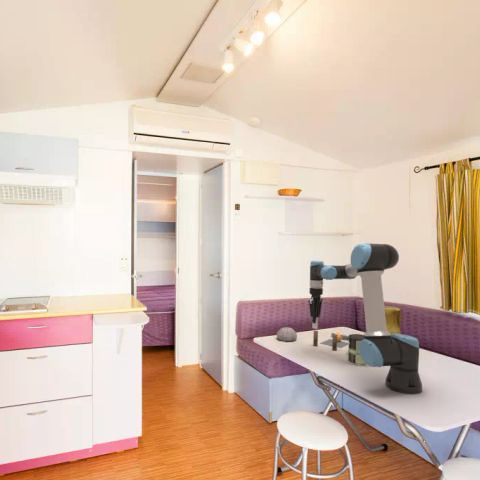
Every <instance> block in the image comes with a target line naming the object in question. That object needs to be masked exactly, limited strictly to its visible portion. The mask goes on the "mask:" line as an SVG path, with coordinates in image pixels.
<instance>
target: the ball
mask: <svg viewBox="0 0 480 480" xmlns="http://www.w3.org/2000/svg"><path fill="white" fill-rule="evenodd" d="M334 333H335V334H336V335H337V342H339V341H342V340H343V339H342V336H341V335H342V334H341V333H340V332H334Z"/></svg>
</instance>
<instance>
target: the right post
mask: <svg viewBox="0 0 480 480" xmlns="http://www.w3.org/2000/svg"><path fill="white" fill-rule="evenodd" d="M332 340H333V341H332V346H331V348H332V349H331V350H332V351H335V352H337V350H338V347H337V335H336V334H333V337H332Z"/></svg>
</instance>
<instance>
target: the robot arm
mask: <svg viewBox="0 0 480 480" xmlns="http://www.w3.org/2000/svg"><path fill="white" fill-rule="evenodd" d="M399 258H400V254H399V252H398V250H397V249H396V248H395V247H394V246H393V245H390V244H388V243H387V244H386V243H369V242H368V243H359V244H357V245H355V246H354V247H353V249H352V251H351V254H350V262H349V263H347V264H344V265H325V264H324V261H322V260H311V261H310V266H309V291H308V292H309V295H311V297H310V300H308V303H309V313H310V318H312V321H311V322H312V323H311V325H312V329H314V330H318V329H319V318H320V317H321V313H322V304H323V301H324V299H323V298H321V297H322V295H324V293H323V292H324V288H323V287H324V280H326V281H328V280H329V281H332V280H355V279H356V278H357V277H360V278H361V290H362V298H363V300H362V301H363V308H364V310H363V311H364V317H365V332H364V333H363V334H362V335H363V337H364V340H362V341H361V342H360V344H359V353H360V356H361V358H362V360H363V361H364V362H365V363H366V364H367V365H366V366H369V367H371V368H381V367H389V370H388V372H387V375H386V377H385V386H386V387H387V388H388V389H390V390H392V391H395V392H399V393H403V394H419V393H421V392H423V383H422V380H421V377H420V373H419V365H420V364H419V360H420V343H419V342H420V341H419V339H418V338H416V337H414V336H411V335H408V334H402V333H401V334H397V333H393V334H390V333H389V332H388V331H387V326H386V317H385V308H384V306H385V301H384V293H383V292H384V291H383V282H382V275H384V273H385V270H389V269H392V268H394V267H396V266H397V264H398V262H399Z"/></svg>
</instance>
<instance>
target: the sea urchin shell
mask: <svg viewBox="0 0 480 480" xmlns="http://www.w3.org/2000/svg"><path fill="white" fill-rule="evenodd" d="M276 338H277V339H278V340H279V341H282V342H292V341H295V340H297V339H298V334H297V331H295V330H294V329H293V328H292V327H288V326H285V327H281V328H280V329H279V330H278V331H277V332H276Z"/></svg>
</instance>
